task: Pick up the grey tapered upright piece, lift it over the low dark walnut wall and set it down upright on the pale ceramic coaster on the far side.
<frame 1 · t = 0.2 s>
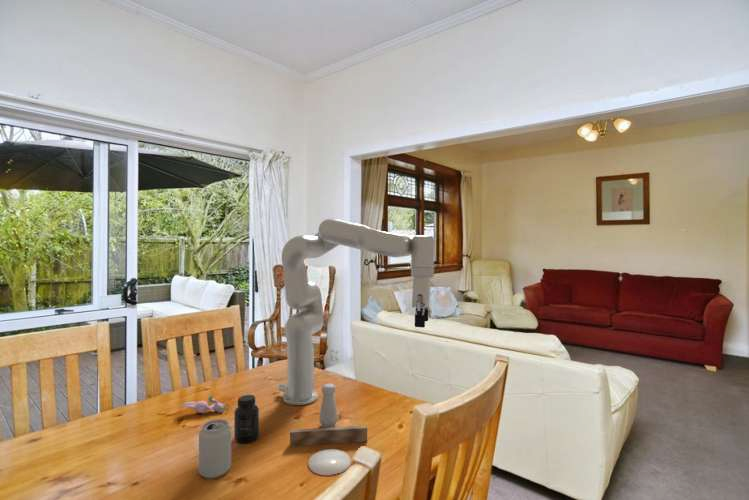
hand: (421, 323, 126), 31 cm above the table, tool pointing down, fingers open, 9 cm apart
can: (215, 472, 95), on the table
ceramic coaster: (329, 462, 100), on the table
grey tapered upright piece: (328, 426, 119), on the table
rabbit figure: (205, 413, 127), on the table
supplement bottle: (246, 438, 111), on the table
walnut wall: (329, 442, 109), on the table
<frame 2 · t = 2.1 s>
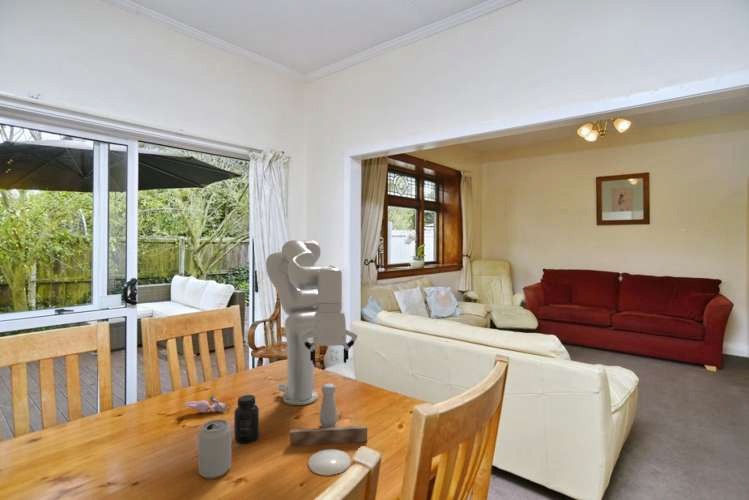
hand: (329, 362, 118), 20 cm above the table, tool pointing down, fingers open, 9 cm apart
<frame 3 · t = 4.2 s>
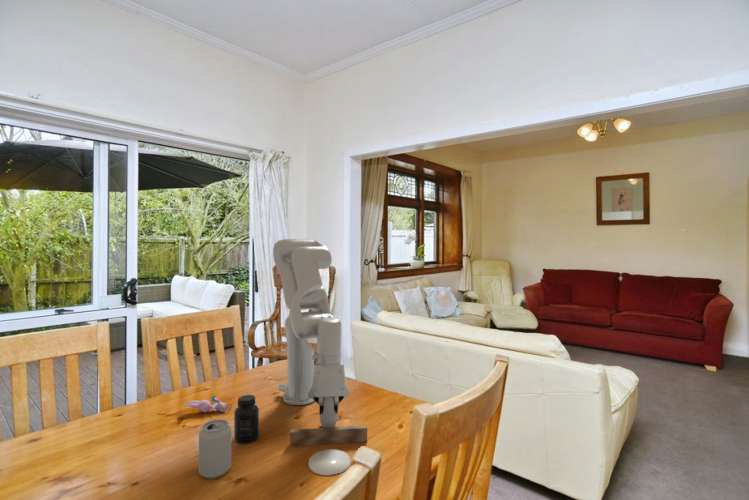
hand: (328, 415, 119), 3 cm above the table, tool pointing down, fingers closed on grey tapered upright piece, 3 cm apart
grey tapered upright piece: (328, 426, 119), on the table, touching gripper
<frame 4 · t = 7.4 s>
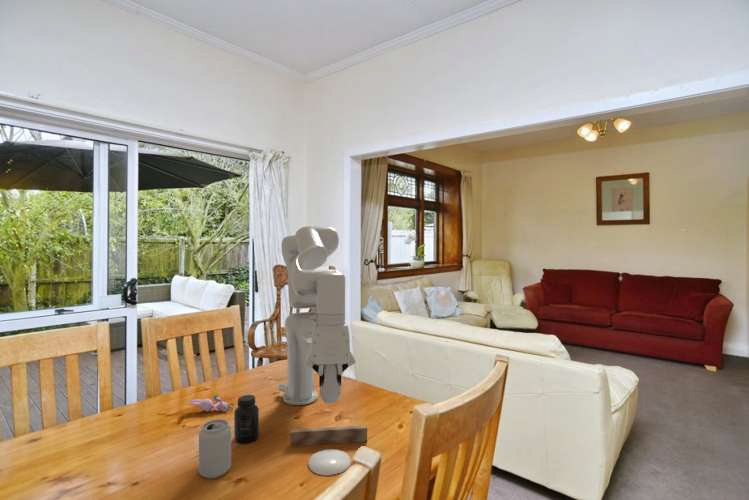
hand: (330, 388, 100), 19 cm above the table, tool pointing down, fingers closed on grey tapered upright piece, 3 cm apart
grey tapered upright piece: (330, 400, 100), point 16 cm above the table, touching gripper
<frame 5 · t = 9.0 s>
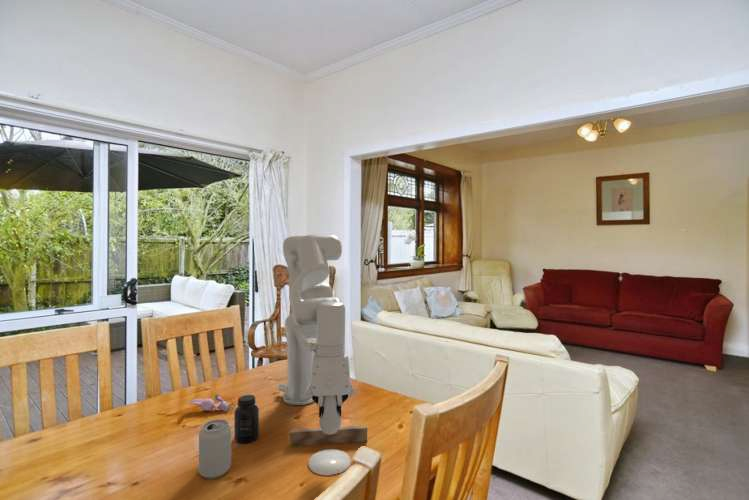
hand: (330, 418, 99), 12 cm above the table, tool pointing down, fingers closed on grey tapered upright piece, 3 cm apart
grey tapered upright piece: (330, 431, 99), point 8 cm above the table, touching gripper
when the fingers open (5 cm above the table, at t = 10.4 s): grey tapered upright piece drops 1 cm, resting on ceramic coaster.
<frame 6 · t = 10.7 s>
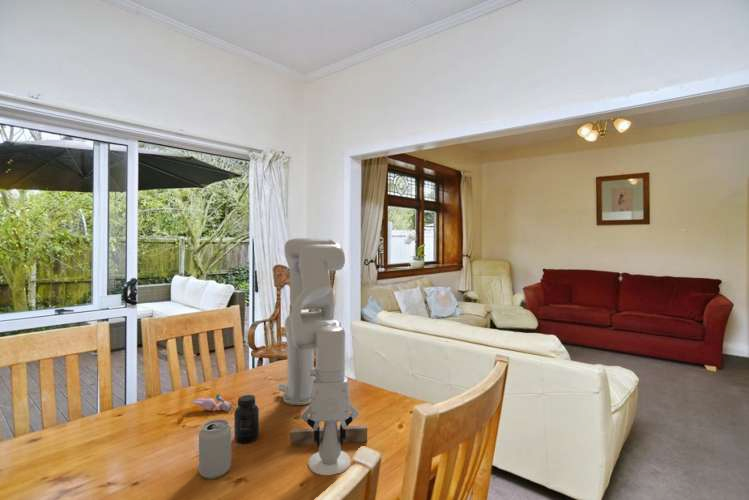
hand: (329, 441, 99), 5 cm above the table, tool pointing down, fingers open, 5 cm apart
grey tapered upright piece: (329, 460, 100), resting on ceramic coaster
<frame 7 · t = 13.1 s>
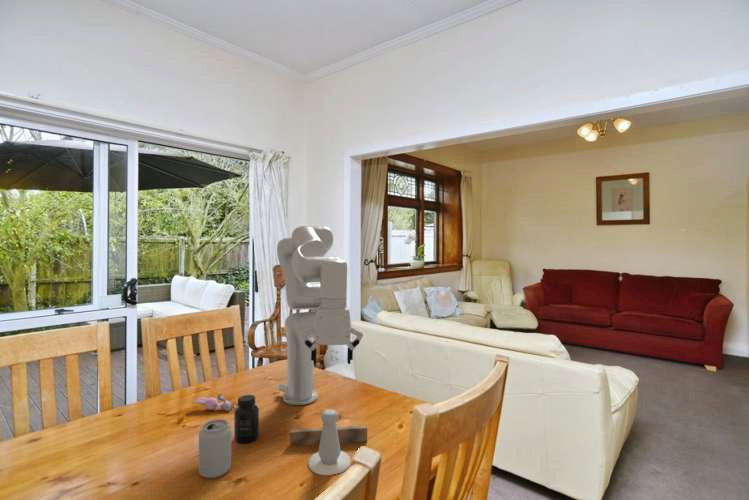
hand: (331, 362, 108), 24 cm above the table, tool pointing down, fingers open, 9 cm apart
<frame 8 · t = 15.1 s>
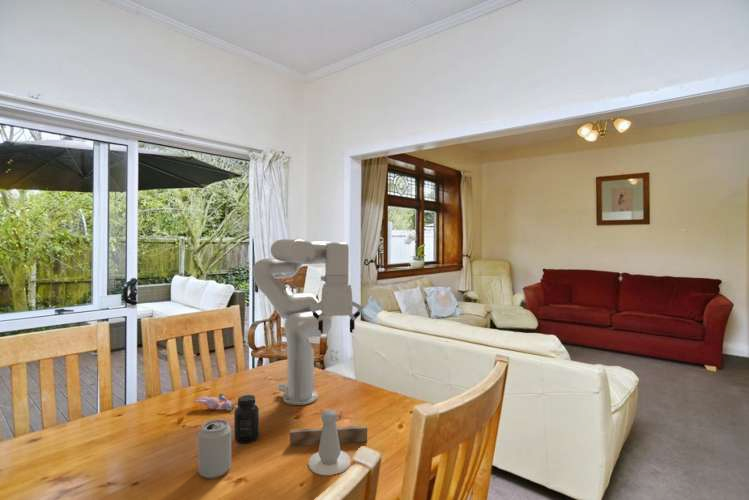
hand: (336, 332, 124), 28 cm above the table, tool pointing down, fingers open, 9 cm apart
at the end: grey tapered upright piece 0.2 cm from the ceramic coaster (horizontally); grey tapered upright piece tilted 0°; the gripper is holding nothing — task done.
